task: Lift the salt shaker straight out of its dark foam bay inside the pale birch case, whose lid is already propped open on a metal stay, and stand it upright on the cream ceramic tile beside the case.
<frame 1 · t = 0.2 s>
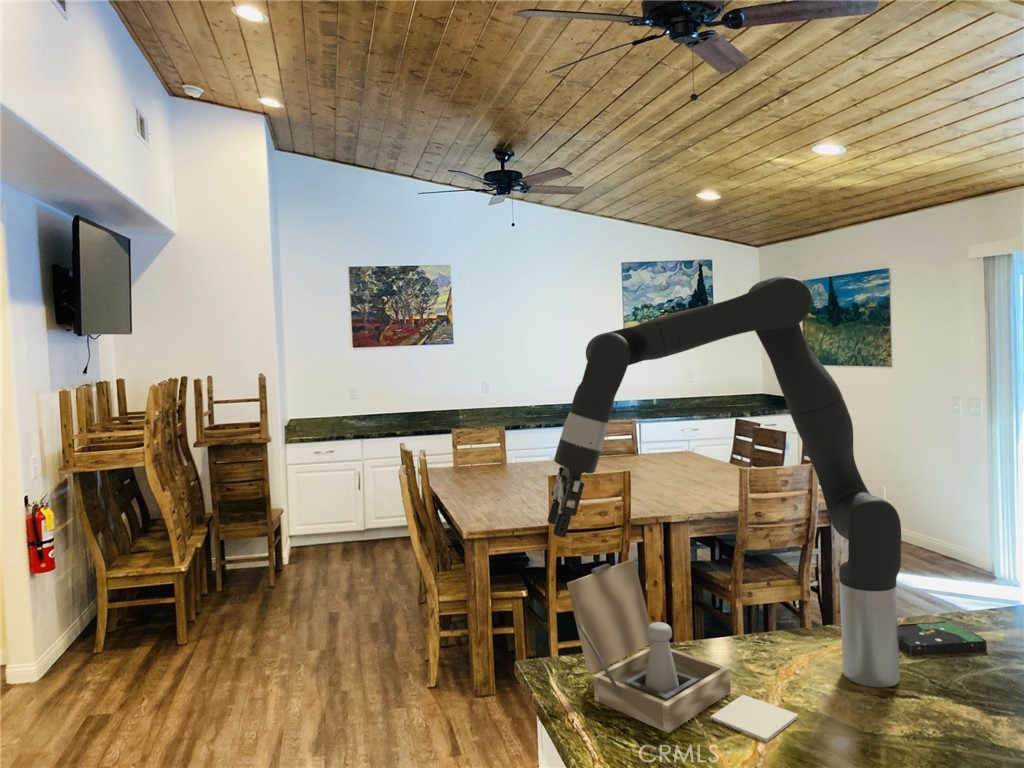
hand: (555, 529, 126), 31 cm above the counter, tool tilted 20°, fingers open, 8 cm apart
disk drive: (933, 646, 141), on the counter
case: (662, 696, 126), on the counter
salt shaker: (662, 697, 126), resting in case
lid: (611, 611, 133), point 13 cm above the counter, hinge at 105.0°
tile: (754, 718, 117), on the counter
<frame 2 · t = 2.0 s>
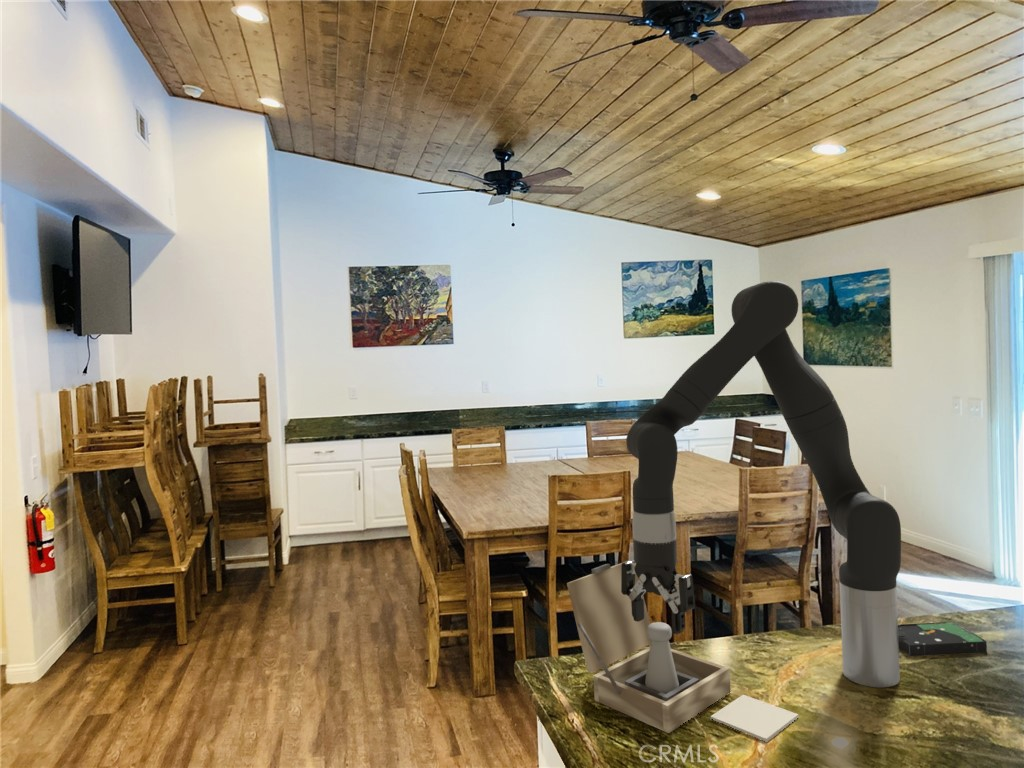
hand: (657, 626, 125), 13 cm above the counter, tool pointing down, fingers open, 8 cm apart
nothing on the counter moved.
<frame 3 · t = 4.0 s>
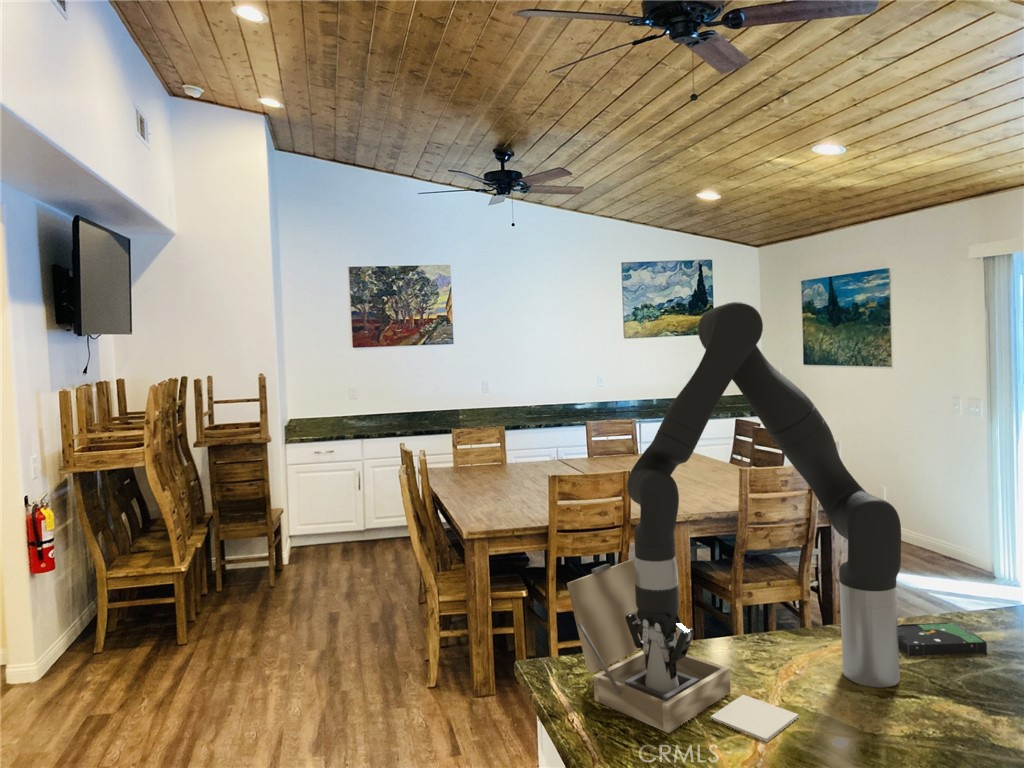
hand: (661, 676, 126), 4 cm above the counter, tool pointing down, fingers closed on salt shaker, 3 cm apart
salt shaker: (662, 697, 126), resting in case, touching gripper
everything else where it was.
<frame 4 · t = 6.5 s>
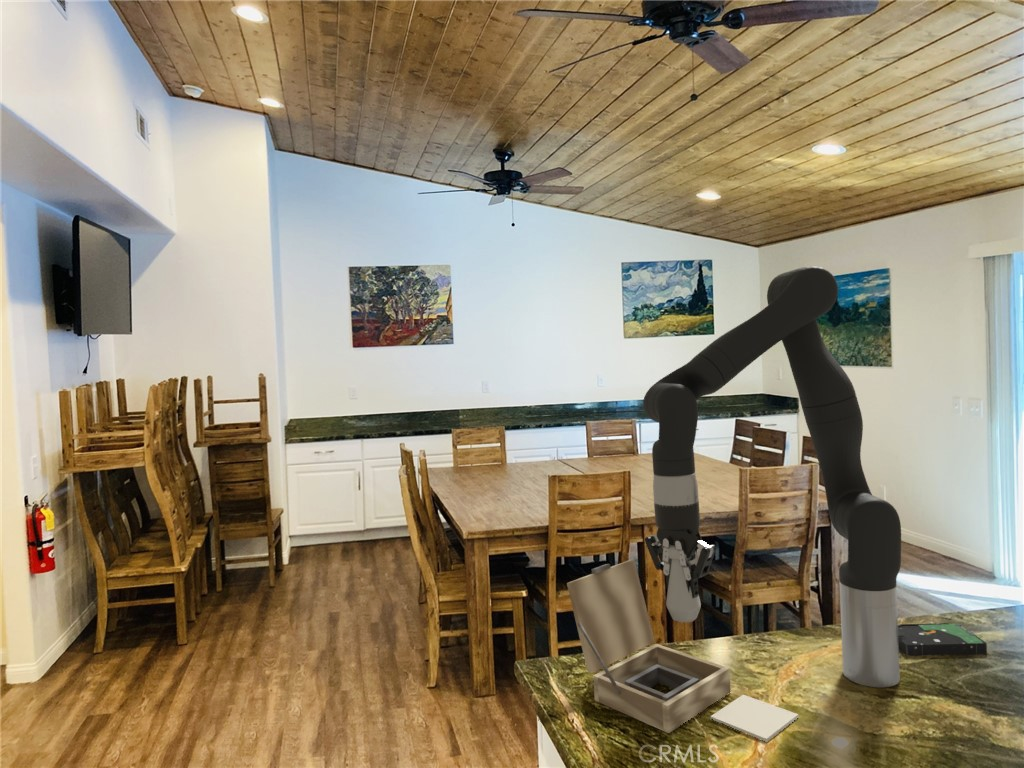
hand: (682, 597, 123), 18 cm above the counter, tool pointing down, fingers closed on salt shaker, 3 cm apart
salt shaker: (684, 619, 123), point 15 cm above the counter, touching gripper
everything else where it was.
when the fingers open (5 cm above the counter, at t = 9.3 s): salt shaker stays where it is, resting on tile.
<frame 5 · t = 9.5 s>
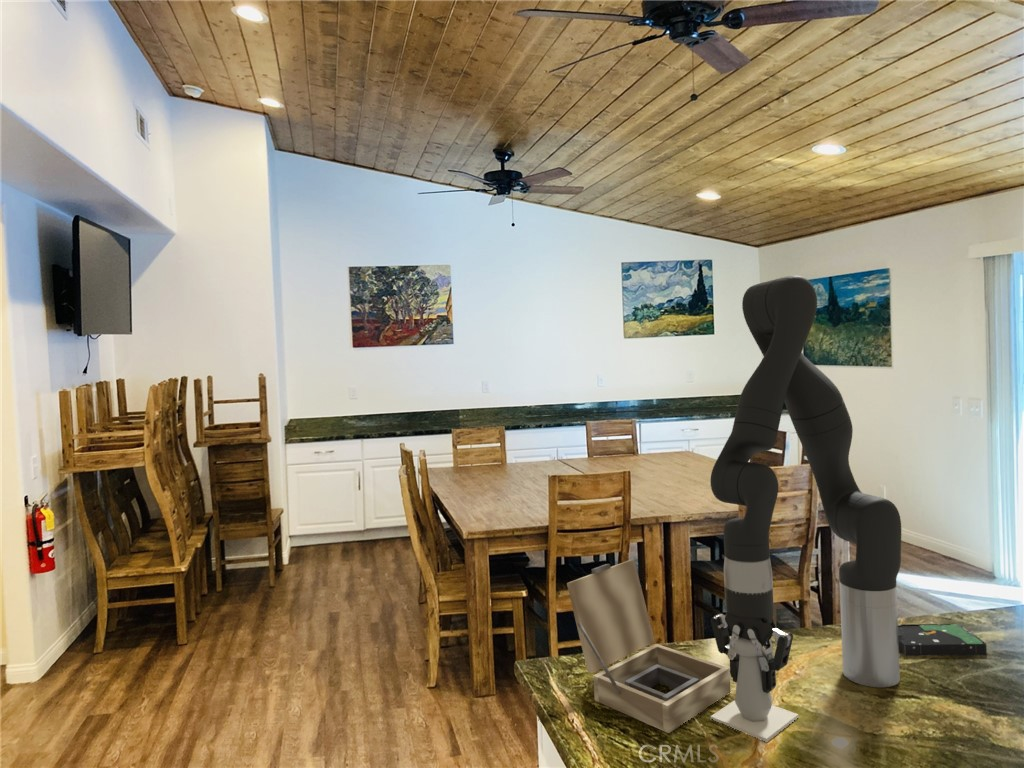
hand: (752, 685, 116), 6 cm above the counter, tool pointing down, fingers open, 4 cm apart
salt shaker: (754, 716, 117), point 1 cm above the counter, touching tile
everything else where it was.
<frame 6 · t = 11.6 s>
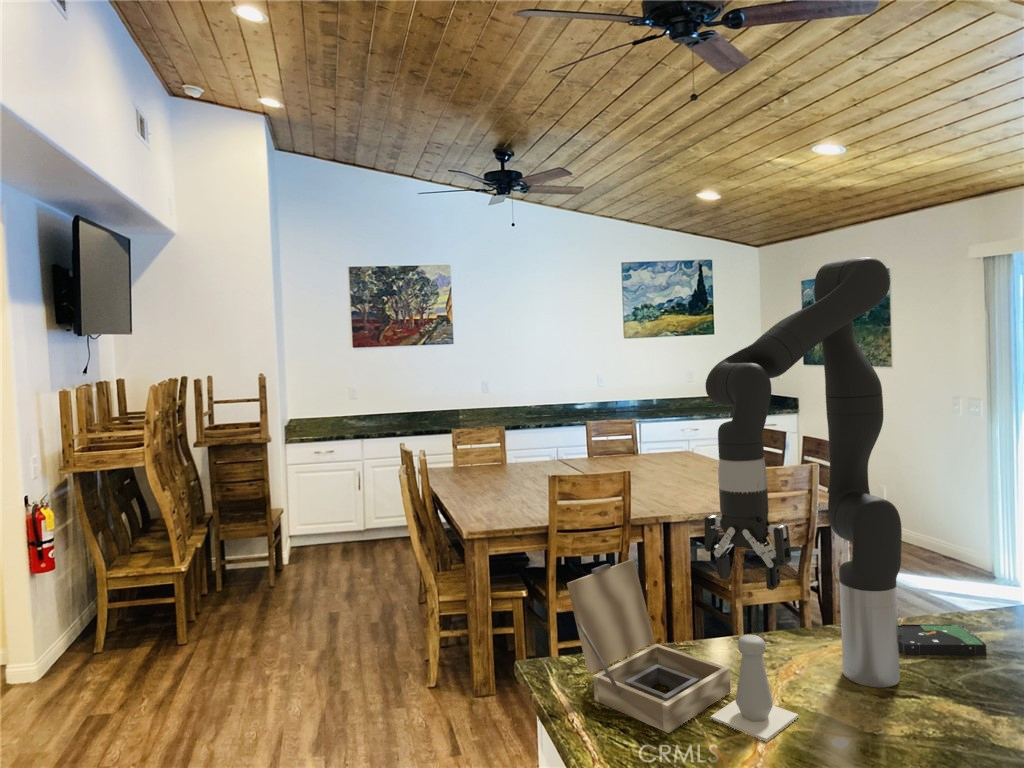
hand: (747, 583, 116), 22 cm above the counter, tool pointing down, fingers open, 8 cm apart
nothing on the counter moved.
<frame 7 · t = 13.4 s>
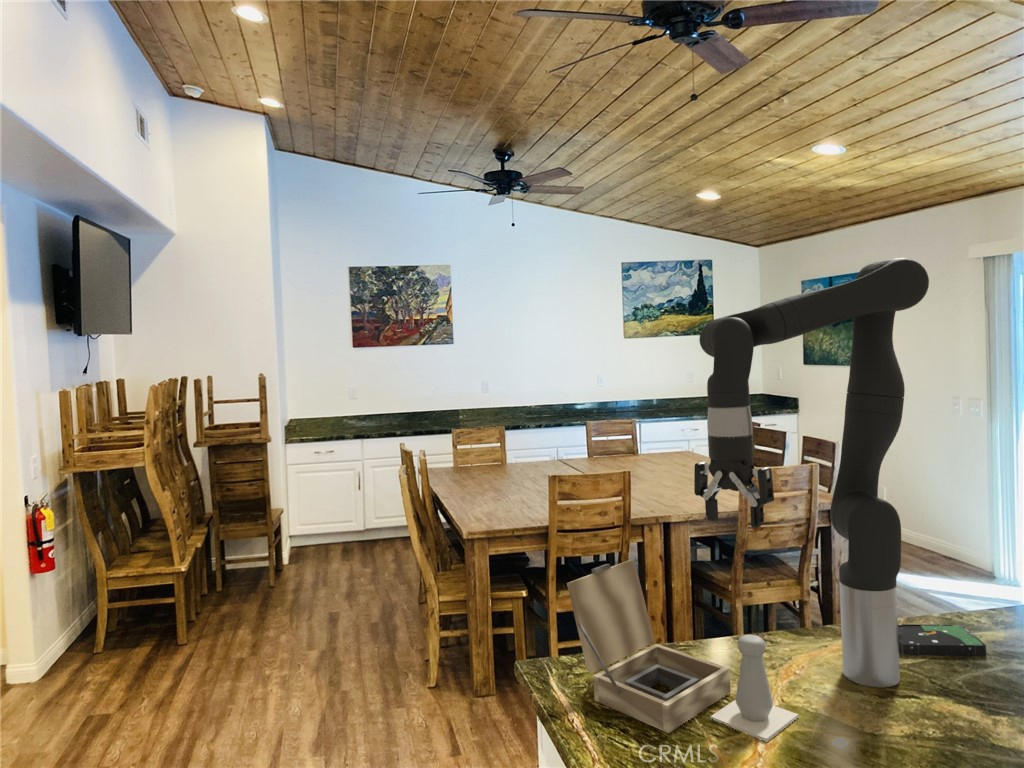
hand: (734, 523, 125), 30 cm above the counter, tool pointing down, fingers open, 8 cm apart
nothing on the counter moved.
at the end: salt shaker 0.1 cm off-centre on the tile, point 0.4 cm above the tile's base; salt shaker tilted 0°; lid at +105° (first picture: +105°) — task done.
